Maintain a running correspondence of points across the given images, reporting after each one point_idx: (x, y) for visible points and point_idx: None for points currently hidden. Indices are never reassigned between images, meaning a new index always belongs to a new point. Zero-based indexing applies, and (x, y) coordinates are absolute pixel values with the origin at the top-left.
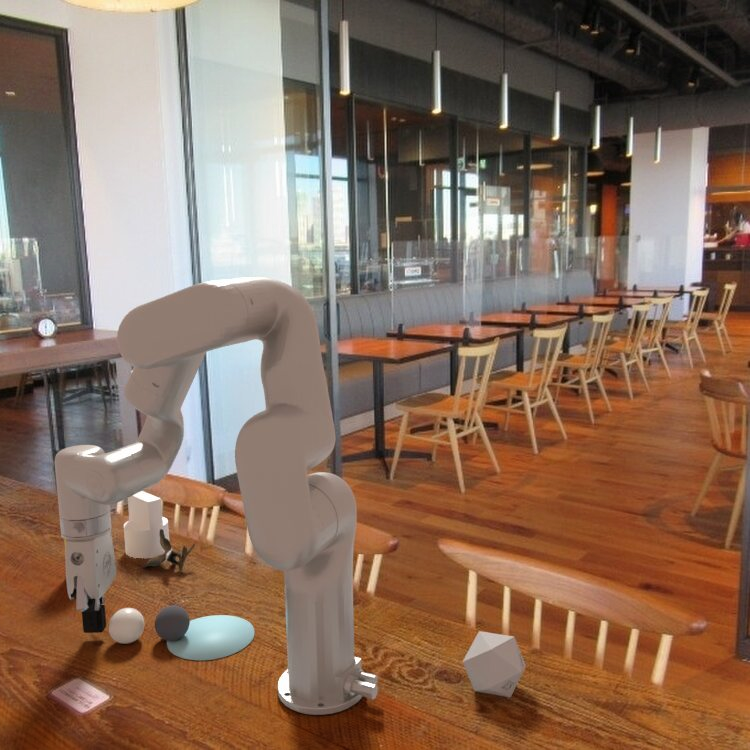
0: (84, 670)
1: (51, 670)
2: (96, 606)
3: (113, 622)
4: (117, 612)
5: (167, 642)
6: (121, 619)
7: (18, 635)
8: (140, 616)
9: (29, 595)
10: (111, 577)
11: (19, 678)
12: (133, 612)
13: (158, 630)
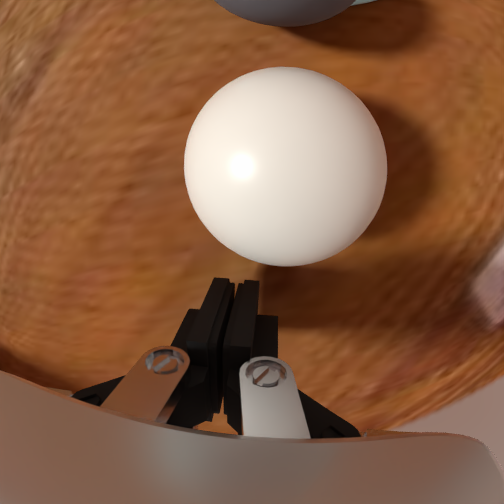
0: (446, 277)
1: (410, 363)
2: (295, 392)
3: (356, 237)
4: (296, 233)
5: None
6: (373, 186)
7: None
8: (293, 71)
9: None
10: (47, 445)
11: (412, 408)
12: (310, 107)
13: (352, 2)
